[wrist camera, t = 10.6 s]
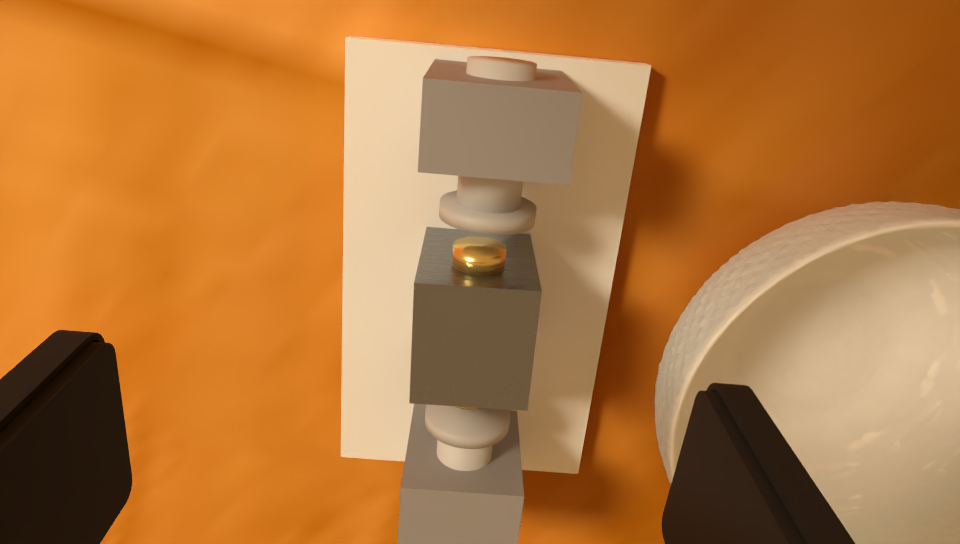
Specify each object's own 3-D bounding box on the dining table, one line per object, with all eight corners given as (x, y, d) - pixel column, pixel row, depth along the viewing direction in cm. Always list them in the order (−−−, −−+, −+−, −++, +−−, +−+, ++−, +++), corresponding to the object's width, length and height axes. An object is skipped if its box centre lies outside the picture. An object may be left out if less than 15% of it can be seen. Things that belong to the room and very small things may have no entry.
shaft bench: (344, 444, 35) (313, 548, 28) (350, 35, 27) (309, 50, 21) (575, 461, 35) (596, 567, 29) (645, 63, 28) (695, 86, 21)
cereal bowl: (820, 526, 37) (893, 641, 31) (564, 397, 34) (583, 495, 27) (1065, 279, 31) (1218, 356, 25) (784, 96, 28) (876, 129, 22)
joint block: (427, 209, 29) (414, 261, 23) (532, 216, 29) (544, 270, 24) (421, 344, 32) (408, 420, 26) (517, 351, 32) (525, 428, 26)
